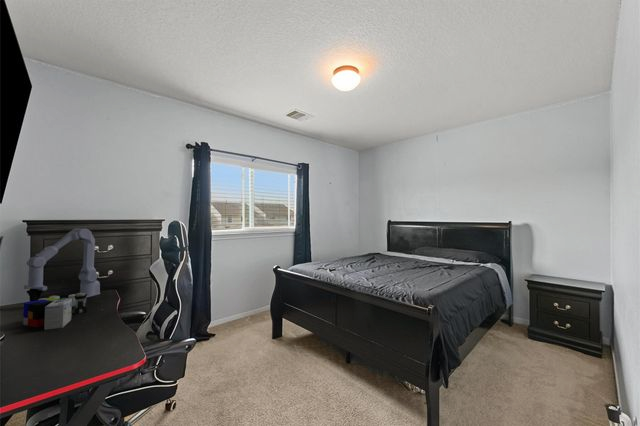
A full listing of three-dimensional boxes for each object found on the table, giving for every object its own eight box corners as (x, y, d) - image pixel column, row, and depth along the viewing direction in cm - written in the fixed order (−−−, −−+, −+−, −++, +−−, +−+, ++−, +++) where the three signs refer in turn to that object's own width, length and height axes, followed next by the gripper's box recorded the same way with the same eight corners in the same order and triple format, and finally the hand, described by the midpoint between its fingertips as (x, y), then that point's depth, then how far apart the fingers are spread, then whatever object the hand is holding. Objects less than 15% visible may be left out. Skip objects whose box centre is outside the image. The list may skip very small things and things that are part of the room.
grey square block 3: (43, 304, 151) (43, 297, 152) (49, 305, 151) (49, 298, 151) (37, 306, 149) (38, 299, 149) (43, 306, 148) (43, 299, 148)
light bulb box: (53, 322, 130) (54, 299, 130) (71, 320, 133) (72, 298, 133) (43, 330, 121) (44, 306, 121) (63, 327, 124) (64, 304, 124)
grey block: (73, 300, 160) (73, 294, 160) (78, 301, 159) (78, 294, 159) (68, 301, 157) (68, 295, 157) (73, 302, 156) (73, 295, 156)
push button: (71, 315, 139) (71, 296, 139) (69, 313, 142) (69, 294, 143) (87, 312, 144) (88, 293, 145) (85, 309, 148) (86, 291, 148)
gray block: (54, 302, 156) (54, 295, 156) (59, 302, 155) (59, 295, 156) (48, 303, 154) (49, 296, 154) (54, 304, 153) (54, 297, 153)
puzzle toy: (23, 324, 127) (23, 303, 127) (49, 317, 136) (50, 297, 137) (36, 327, 124) (37, 305, 124) (63, 319, 134) (63, 299, 134)
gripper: (17, 278, 149) (16, 303, 149) (36, 280, 146) (35, 305, 146) (33, 276, 156) (32, 299, 156) (52, 277, 153) (51, 301, 153)
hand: (34, 302), depth 151 cm, fingers closed
